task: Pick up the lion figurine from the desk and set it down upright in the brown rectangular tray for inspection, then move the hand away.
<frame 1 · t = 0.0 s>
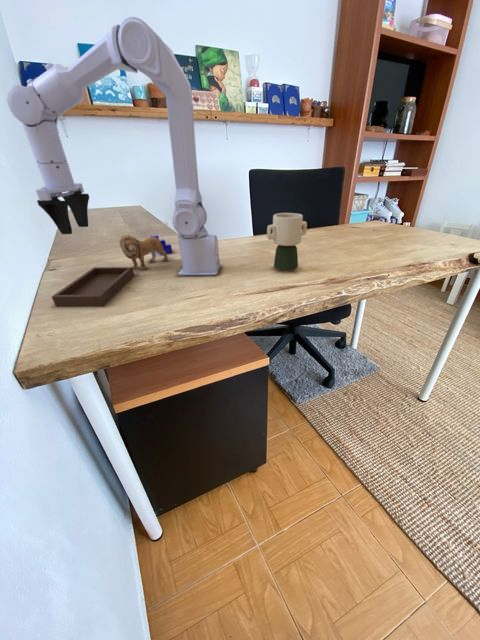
hand: (75, 230, 70), 10 cm above the table, tool pointing down, fingers open, 7 cm apart
brown rectangular tray: (99, 289, 66), on the table
cable holder: (162, 251, 91), on the table
beige and green trophy: (285, 269, 77), on the table
lion figurine: (148, 266, 79), on the table
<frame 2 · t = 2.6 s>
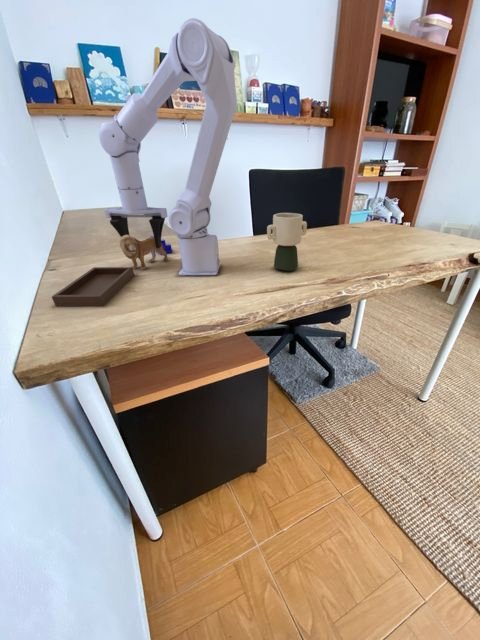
hand: (144, 247, 77), 5 cm above the table, tool pointing down, fingers open, 7 cm apart
lion figurine: (148, 266, 79), on the table, touching gripper
everything else where it was.
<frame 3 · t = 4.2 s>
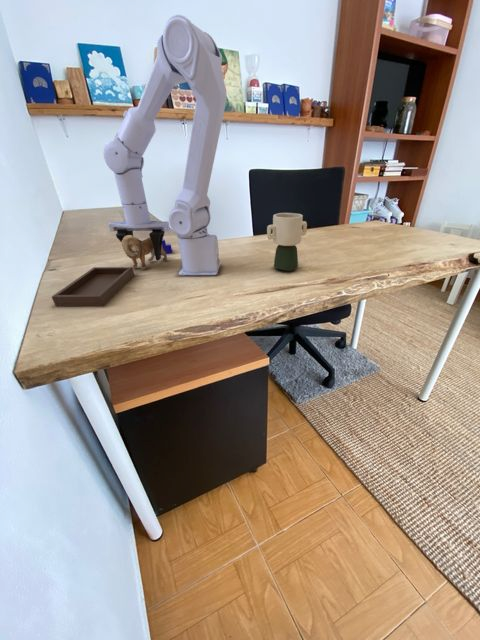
hand: (146, 259, 78), 2 cm above the table, tool pointing down, fingers closed on lion figurine, 6 cm apart
lion figurine: (148, 266, 79), on the table, touching gripper
everything else where it was.
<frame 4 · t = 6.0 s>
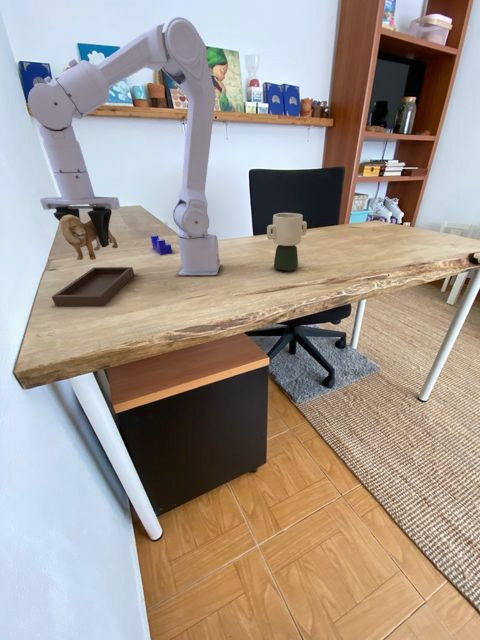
hand: (94, 246, 63), 9 cm above the table, tool pointing down, fingers closed on lion figurine, 4 cm apart
lion figurine: (97, 256, 64), point 7 cm above the table, touching gripper
everything else where it was.
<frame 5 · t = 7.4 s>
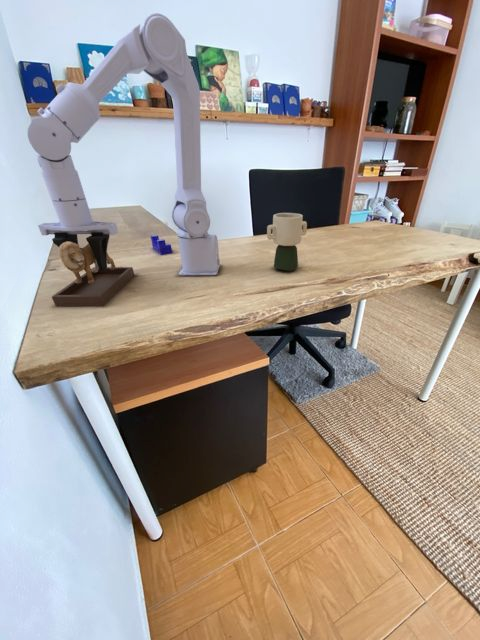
hand: (92, 269, 64), 5 cm above the table, tool pointing down, fingers closed on lion figurine, 4 cm apart
lion figurine: (95, 278, 64), point 3 cm above the table, touching gripper
everything else where it was.
when the fingers open (2 cm above the table, at t = 8.5 s): lion figurine stays where it is, resting on brown rectangular tray.
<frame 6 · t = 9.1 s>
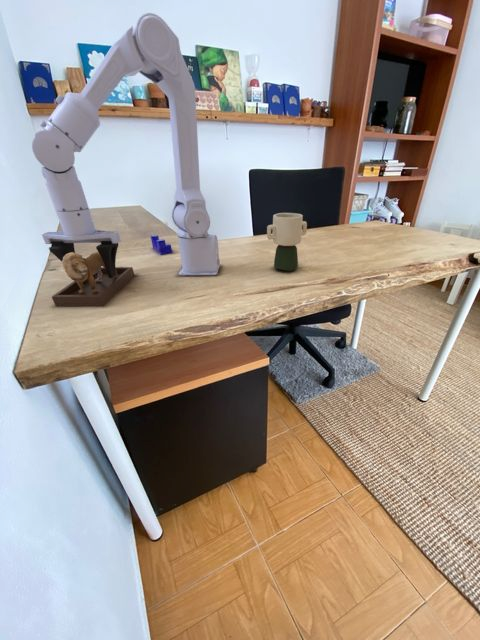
hand: (95, 276, 64), 3 cm above the table, tool pointing down, fingers open, 7 cm apart
lion figurine: (98, 288, 65), resting on brown rectangular tray
everything else where it was.
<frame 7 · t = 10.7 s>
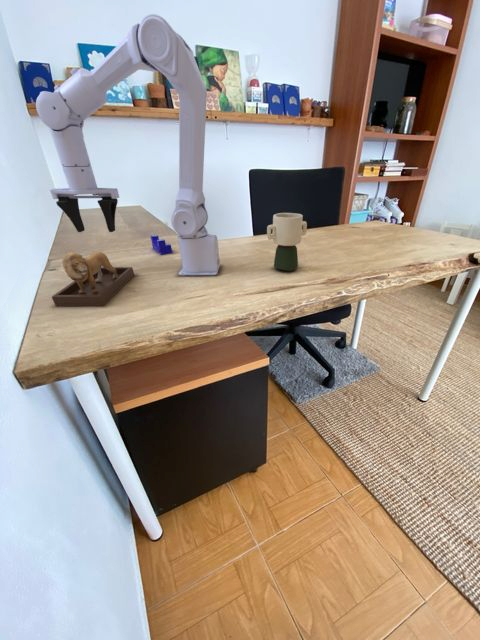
hand: (96, 231, 72), 9 cm above the table, tool pointing down, fingers open, 7 cm apart
nothing on the table moved.
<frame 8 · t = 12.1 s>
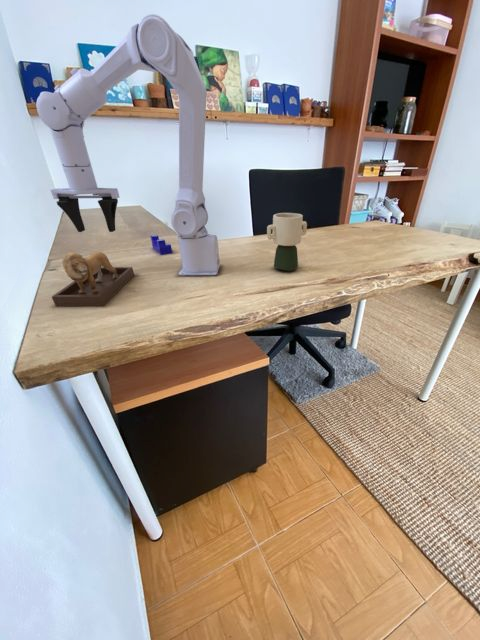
hand: (97, 231, 72), 9 cm above the table, tool pointing down, fingers open, 7 cm apart
nothing on the table moved.
at the end: lion figurine inside the target area in the brown rectangular tray (0.5 cm from its centre), point 0.4 cm above the brown rectangular tray's base; lion figurine tilted 0°; the gripper is holding nothing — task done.
